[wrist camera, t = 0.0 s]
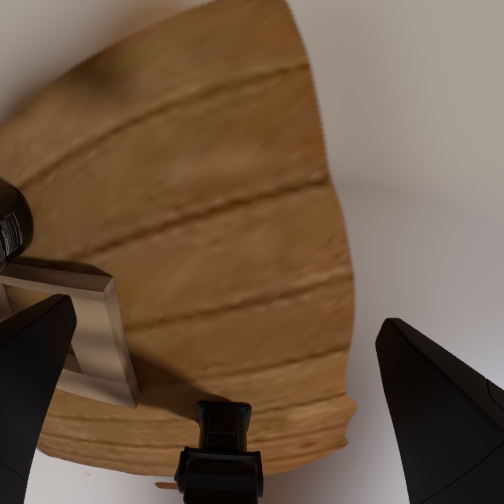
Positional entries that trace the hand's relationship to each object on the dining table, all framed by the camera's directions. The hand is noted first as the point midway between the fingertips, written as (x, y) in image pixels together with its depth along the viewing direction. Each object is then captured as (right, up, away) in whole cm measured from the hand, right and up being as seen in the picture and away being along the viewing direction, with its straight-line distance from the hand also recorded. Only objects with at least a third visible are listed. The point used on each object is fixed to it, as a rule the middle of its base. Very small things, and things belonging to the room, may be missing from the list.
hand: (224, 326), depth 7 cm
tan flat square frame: (-21, -7, +19) cm, 30 cm away
